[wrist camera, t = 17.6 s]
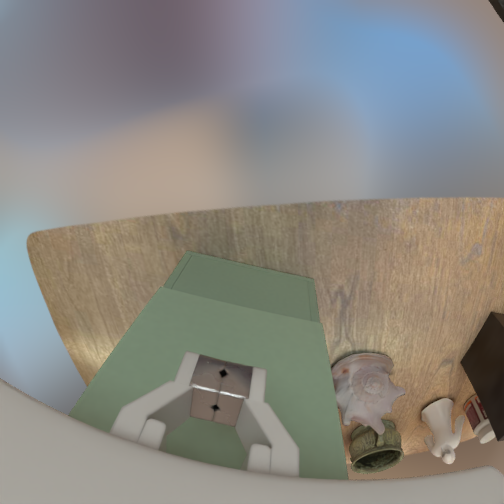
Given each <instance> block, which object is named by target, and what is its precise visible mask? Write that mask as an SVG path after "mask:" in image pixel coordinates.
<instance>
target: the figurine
mask: <svg viewBox="0 0 504 504" xmlns="http://www.w3.org/2000/svg"><path fill="white" fill-rule="evenodd" d="M453 405H454V403H453V401H452V400H450V399H448V398H442V399H440V400H438V401H436V402H434V403H432V404H430V405H429V406H428V407H426V408H425V409H424V410H423V411H422V412H421V414H422V418H421V419H422V421H424V422H426V423H427V425H428V427H429V428H430V430H431V432H432V433H433V435H428V436H426V437H425V438H424V441H425V443H426V445H427V447H428V449H429V450H430V452H431V453H432V454H433V455H434V456H436V457H441V459H442V461H444V462H445V463H447V464H452V463H453V461H454V459H455V452H454V450H453V449H455V448H456V447H457V446H458V444H459V442H460V438H461V432H462V426H463V423H464V420H465V416H463V415H460V416H458V417H457V418H456V419H455V433H452V430H451V410H452V407H453ZM433 436H434V441H433Z"/></svg>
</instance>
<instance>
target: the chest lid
mask: <svg viewBox="0 0 504 504" xmlns="http://www.w3.org/2000/svg"><path fill="white" fill-rule="evenodd" d="M186 351H190V352H193V353H197V354H202V355H205V356H209V357H213V358H216V359H220V360H224V361H229V362H234V363H239V364H243V365H248V366H254V367H259V368H264V369H267V378H266V390H265V401H264V402H266V403H269V405H270V406H271V408H272V409H273V411H274V412H275V414H276V415H277V417H278V418H279V420H280V421H281V423H282V424H283V426H284V427H285V429H286V430H287V432H288V433H289V434H290V436H291V437H292V439H293V440H294V442H295V443H296V445H297V446H298V447H299V477H301V478H315V479H337V480H348V473H347V466H346V458H345V451H344V445H343V438H342V431H341V425H340V419H339V412H338V406H337V400H336V395H335V389H334V383H333V378H332V372H331V367H330V361H329V356H328V351H327V346H326V340H325V335H324V330H323V325H322V323H318V322H313V321H308V320H303V319H298V318H293V317H288V316H283V315H279V314H274V313H269V312H265V311H260V310H255V309H251V308H246V307H242V306H238V305H233V304H229V303H225V302H220V301H216V300H212V299H208V298H204V297H200V296H196V295H192V294H188V293H184V292H180V291H176V290H172V289H168V288H164V287H160V288H159V289H158V290H157V292H156V293H155V294H154V296H153V297H152V298H151V300H150V301H149V302H148V304H147V305H146V306H145V308H144V309H143V310H142V312H141V313H140V314H139V316H138V317H137V318H136V320H135V321H134V322H133V324H132V325H131V326H130V328H129V329H128V330H127V332H126V333H125V335H124V336H123V337H122V339H121V340H120V341H119V343H118V344H117V346H116V347H115V348H114V350H113V351H112V353H111V354H110V355H109V357H108V358H107V360H106V361H105V362H104V364H103V365H102V367H101V368H100V369H99V371H98V372H97V374H96V375H95V377H94V378H93V379H92V381H91V382H90V384H89V385H88V387H87V388H86V390H85V391H84V393H83V394H82V396H81V397H80V398H79V400H78V401H77V403H76V405H75V406H74V407H73V409H72V410H71V412H70V413H69V415H68V416H70V417H72V418H74V419H77V420H79V421H81V422H83V423H86V424H88V425H90V426H93V427H95V428H97V429H100V430H102V431H105V432H107V433H109V432H110V430H111V428H112V426H113V424H114V422H115V420H116V418H117V416H118V414H119V412H120V410H121V408H122V407H123V406H125V405H127V404H129V403H131V402H132V401H134V400H136V399H138V398H140V397H141V396H143V395H145V394H147V393H149V392H150V391H152V390H154V389H156V388H157V387H159V386H161V385H163V384H164V383H166V382H168V381H174V379H175V377H176V374H177V372H178V369H179V367H180V364H181V362H182V359H183V357H184V354H185V352H186ZM166 453H169V454H173V455H177V456H180V457H184V458H188V459H192V460H196V461H200V462H204V463H209V464H213V465H218V466H223V467H228V468H233V469H239V470H240V468H241V466H242V464H243V462H244V460H245V457H246V455H247V453H246V451H245V449H244V447H243V445H242V443H241V440H240V438H239V436H238V434H237V432H236V430H235V427H232V426H228V425H224V424H220V423H216V422H213V421H207V420H202V419H198V418H193V417H190V418H189V419H188V420H186V421H185V422H184V423H183V424H181V425H180V426H179V427H178V428H176V429H175V430H174V431H172V432H171V433H170V434H169V435H167V436H166Z"/></svg>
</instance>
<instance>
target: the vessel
mask: <svg viewBox="0 0 504 504" xmlns="http://www.w3.org/2000/svg"><path fill="white" fill-rule="evenodd" d="M382 422H383V424H384V426H385V431H384V433H383V434H381V435H379V434H378V433H377V432H376V431H375V430H374V429H373V428H372V427H371V426H370V425H368V426H364V425H361V426H360V427H358V428H357V429H355V430H354V431H353V433H352V435H351V438H352V440H353V441H352V443H351V445H350V446H349V452H350V455H351V458H350V460H351V462H352V464H351V469H352V470H353V471H354V472H357V473H363V474H364V473H367V474H368V473H376V472H380V471H383V470H386V469H388V468H391V467H393V466H395V465H396V464H397V463H399V462H400V461H401V460H402V459H403V457H404V452H403V451H402V450H403V449H402V448H401V436H400V434H399V433H398V432H397V431H396V430H395V425H394V424H393V423H392V422H391V421H388V420H382Z"/></svg>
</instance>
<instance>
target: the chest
mask: <svg viewBox="0 0 504 504" xmlns="http://www.w3.org/2000/svg"><path fill="white" fill-rule="evenodd" d="M163 287H164V288H168V289H172V290H176V291H180V292H184V293H188V294H192V295H196V296H200V297H204V298H208V299H212V300H216V301H220V302H225V303H229V304H233V305H238V306H242V307H246V308H251V309H255V310H260V311H265V312H269V313H274V314H279V315H283V316H288V317H293V318H298V319H303V320H308V321H313V322H318V323H320V319H319V312H318V304H317V297H316V290H315V283H314V279H311V278H306V277H302V276H297V275H293V274H288V273H284V272H279V271H275V270H270V269H266V268H262V267H257V266H253V265H248V264H244V263H240V262H235V261H231V260H226V259H222V258H218V257H213V256H209V255H205V254H200V253H196V252H192V251H186V253H185V254H184V256H183V257H182V259H181V260H180V262H179V263H178V265H177V266H176V268H175V269H174V271H173V272H172V274H171V275H170V277H169V278H168V280H167V281H166V283H165V284H164V286H163Z"/></svg>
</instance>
